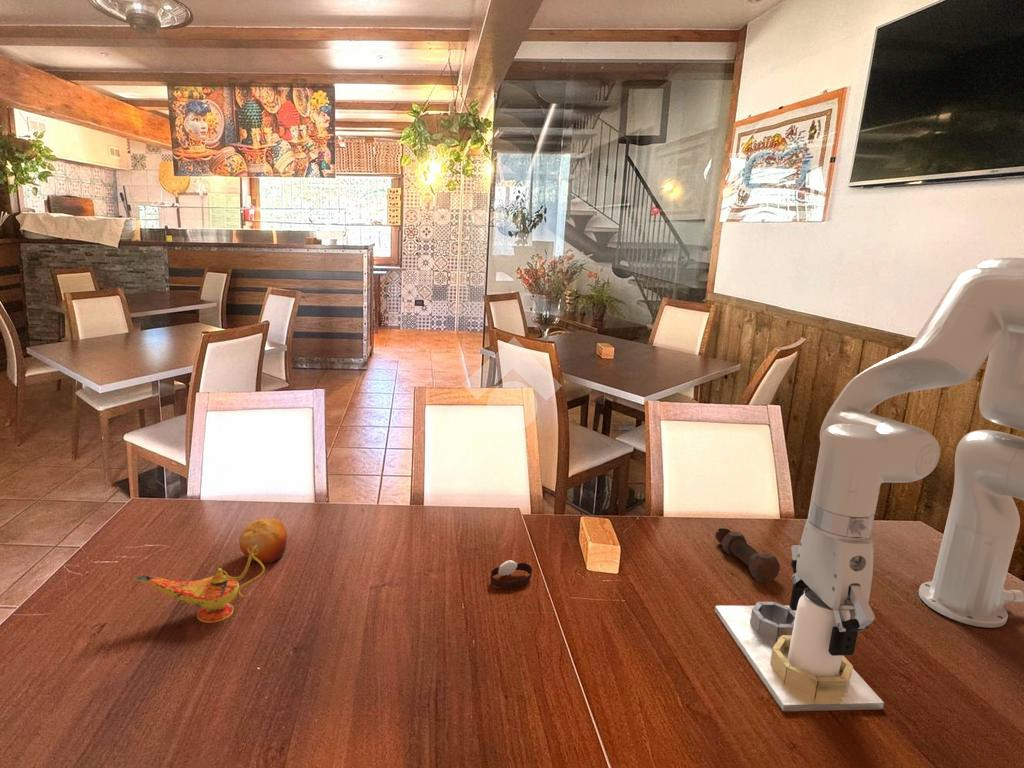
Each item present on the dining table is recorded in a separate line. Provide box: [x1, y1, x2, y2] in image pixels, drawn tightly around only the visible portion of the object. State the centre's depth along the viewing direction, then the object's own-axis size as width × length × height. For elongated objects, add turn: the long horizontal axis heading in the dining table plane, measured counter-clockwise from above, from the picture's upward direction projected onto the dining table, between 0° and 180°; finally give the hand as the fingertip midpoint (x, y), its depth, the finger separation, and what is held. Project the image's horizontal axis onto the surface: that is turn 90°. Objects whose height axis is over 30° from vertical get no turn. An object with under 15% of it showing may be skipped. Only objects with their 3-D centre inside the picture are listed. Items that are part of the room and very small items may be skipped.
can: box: [788, 587, 851, 677], centre depth 85 cm, size 6×6×12 cm
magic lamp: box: [134, 545, 266, 624], centre depth 93 cm, size 7×18×11 cm, turn 103°
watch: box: [489, 559, 533, 589], centre depth 107 cm, size 8×5×4 cm, turn 116°
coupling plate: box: [714, 601, 885, 712], centre depth 92 cm, size 14×22×4 cm, turn 5°
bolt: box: [715, 527, 781, 583], centre depth 118 cm, size 6×5×15 cm
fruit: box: [238, 517, 288, 564], centre depth 111 cm, size 8×8×8 cm
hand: (819, 630), depth 86 cm, fingers open, 9 cm apart
